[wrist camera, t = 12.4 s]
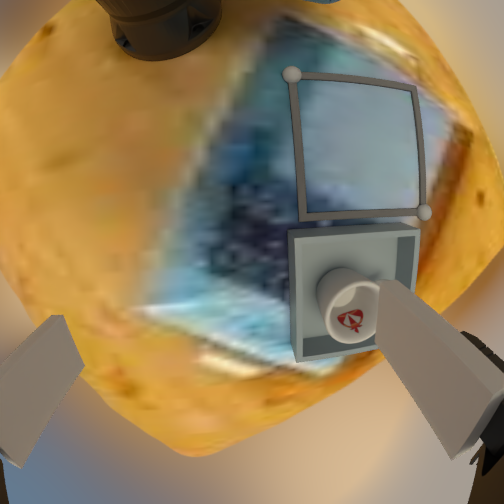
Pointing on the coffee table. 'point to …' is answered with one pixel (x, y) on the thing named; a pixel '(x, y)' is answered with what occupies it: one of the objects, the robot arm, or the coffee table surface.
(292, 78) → the square tray frame
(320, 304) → the cup
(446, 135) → the coffee table surface
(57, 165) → the coffee table surface
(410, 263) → the bin
